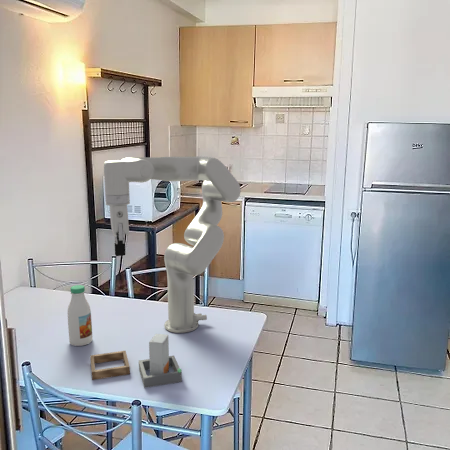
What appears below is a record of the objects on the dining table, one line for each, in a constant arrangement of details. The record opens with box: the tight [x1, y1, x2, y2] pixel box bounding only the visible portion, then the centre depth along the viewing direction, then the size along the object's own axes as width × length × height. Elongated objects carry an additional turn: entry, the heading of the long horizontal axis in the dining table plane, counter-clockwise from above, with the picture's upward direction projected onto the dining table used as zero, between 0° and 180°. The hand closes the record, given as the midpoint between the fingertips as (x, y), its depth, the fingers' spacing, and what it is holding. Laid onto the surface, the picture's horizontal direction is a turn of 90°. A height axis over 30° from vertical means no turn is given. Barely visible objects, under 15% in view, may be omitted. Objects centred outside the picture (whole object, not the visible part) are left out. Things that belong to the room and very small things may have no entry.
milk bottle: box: [67, 284, 93, 347], centre depth 165 cm, size 8×8×20 cm
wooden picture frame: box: [89, 350, 131, 381], centre depth 149 cm, size 11×11×2 cm
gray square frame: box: [138, 355, 183, 389], centre depth 144 cm, size 11×11×4 cm
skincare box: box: [148, 333, 170, 376], centre depth 144 cm, size 6×4×12 cm
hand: (120, 255), depth 157 cm, fingers closed
